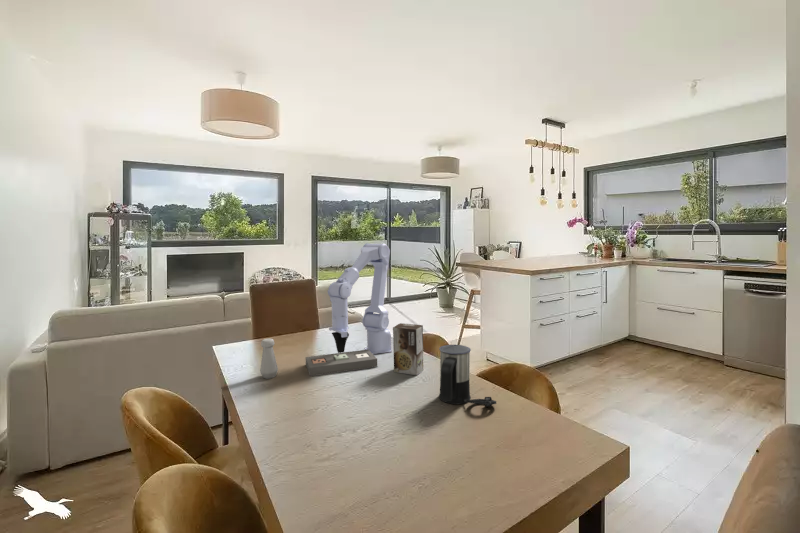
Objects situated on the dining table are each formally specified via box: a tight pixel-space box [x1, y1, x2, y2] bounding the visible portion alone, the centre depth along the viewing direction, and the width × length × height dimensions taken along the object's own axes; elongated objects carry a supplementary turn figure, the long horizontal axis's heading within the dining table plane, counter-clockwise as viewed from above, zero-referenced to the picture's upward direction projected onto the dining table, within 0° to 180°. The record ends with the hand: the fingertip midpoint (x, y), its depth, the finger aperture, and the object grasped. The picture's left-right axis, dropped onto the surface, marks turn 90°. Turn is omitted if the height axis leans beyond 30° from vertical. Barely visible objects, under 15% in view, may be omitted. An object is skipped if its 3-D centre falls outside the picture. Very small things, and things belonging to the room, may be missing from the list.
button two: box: [334, 354, 348, 361], centre depth 141 cm, size 4×4×3 cm
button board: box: [305, 349, 378, 377], centre depth 141 cm, size 24×12×3 cm, turn 110°
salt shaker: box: [259, 337, 279, 380], centre depth 131 cm, size 6×6×13 cm
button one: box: [355, 353, 369, 358], centre depth 144 cm, size 4×4×3 cm
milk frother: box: [438, 344, 497, 408], centre depth 110 cm, size 14×16×15 cm
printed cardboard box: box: [392, 322, 424, 376], centre depth 135 cm, size 9×6×16 cm
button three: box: [312, 358, 326, 364], centre depth 139 cm, size 4×4×3 cm
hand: (340, 351), depth 141 cm, fingers closed
